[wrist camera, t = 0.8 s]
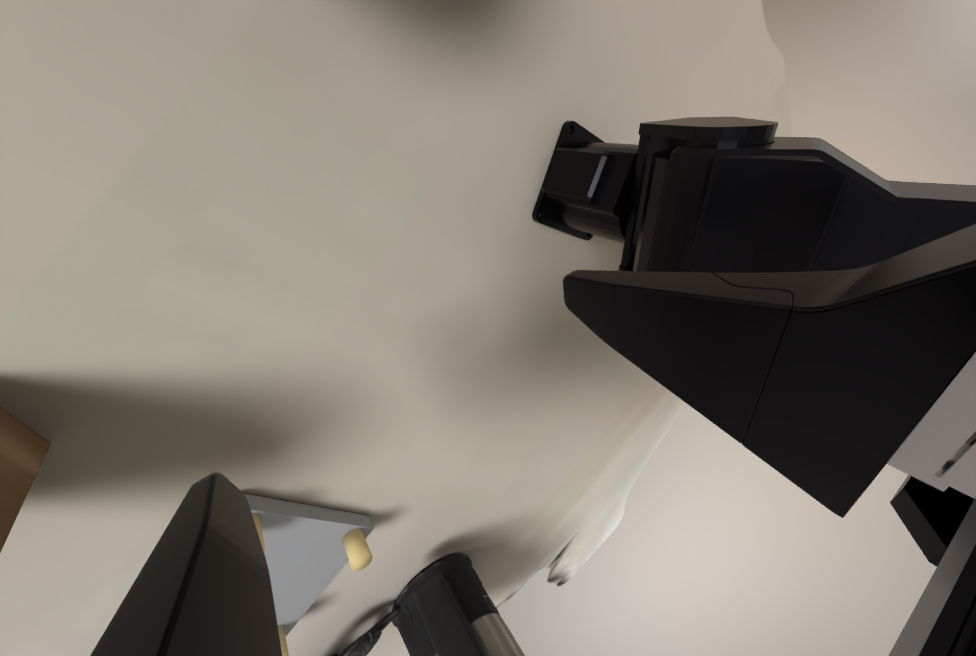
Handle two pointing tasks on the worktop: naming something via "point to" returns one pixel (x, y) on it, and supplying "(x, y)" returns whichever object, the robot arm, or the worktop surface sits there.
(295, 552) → the peg stand
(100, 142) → the worktop surface
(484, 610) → the milk frother
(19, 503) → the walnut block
